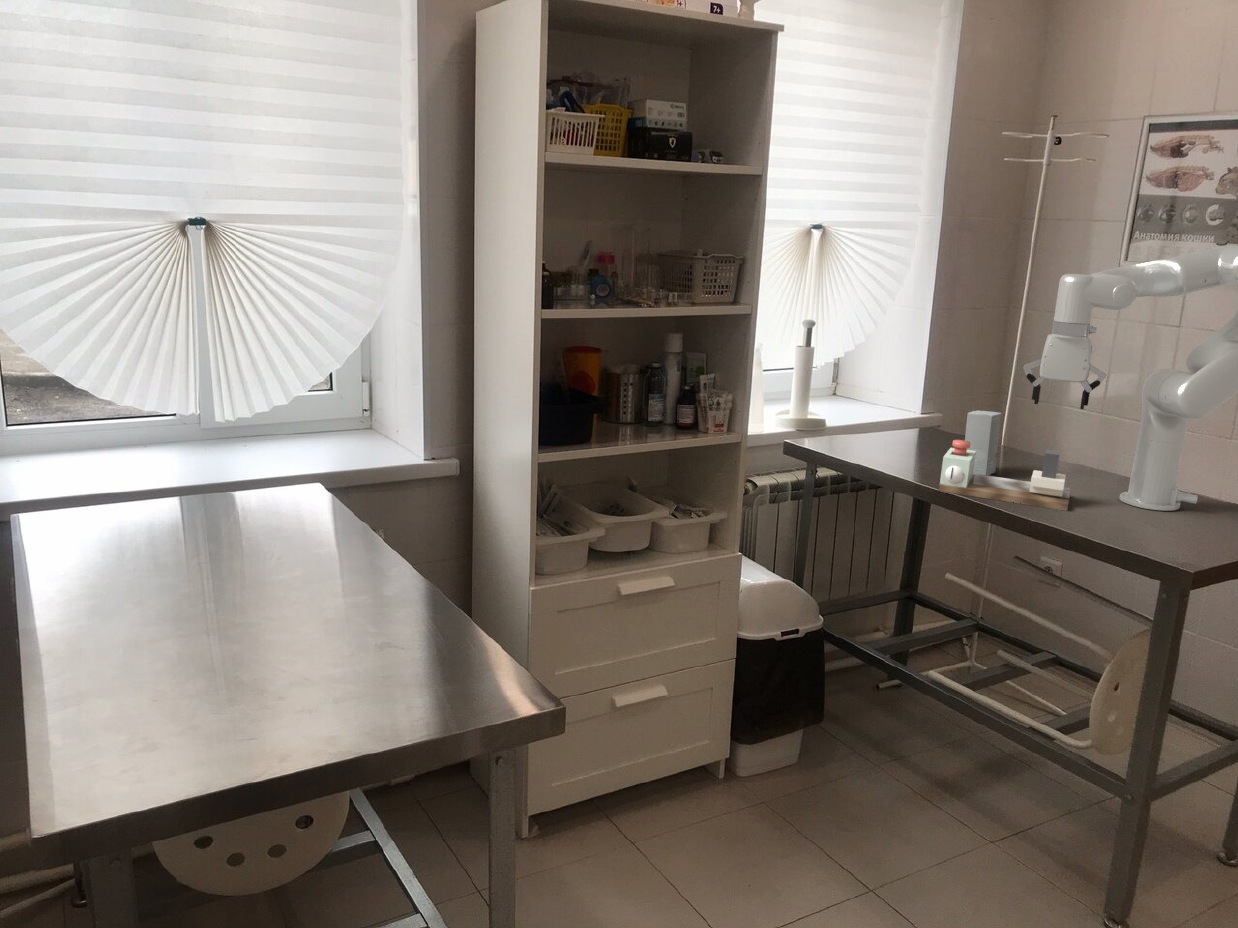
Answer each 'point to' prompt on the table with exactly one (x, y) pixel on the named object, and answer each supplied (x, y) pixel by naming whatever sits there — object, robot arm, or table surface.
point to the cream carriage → (1048, 476)
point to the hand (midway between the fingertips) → (1058, 405)
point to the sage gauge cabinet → (957, 468)
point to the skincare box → (983, 439)
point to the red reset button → (960, 447)
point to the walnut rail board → (1009, 492)
